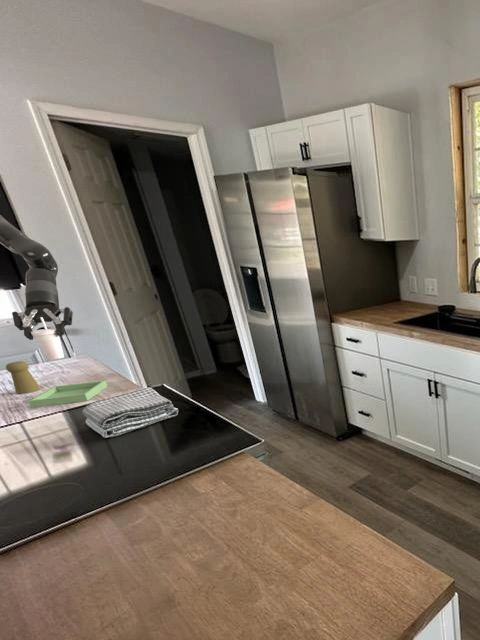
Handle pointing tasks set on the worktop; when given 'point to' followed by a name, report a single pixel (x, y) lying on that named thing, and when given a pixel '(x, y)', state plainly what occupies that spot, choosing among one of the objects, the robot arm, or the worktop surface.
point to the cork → (22, 378)
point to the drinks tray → (68, 394)
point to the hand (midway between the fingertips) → (44, 336)
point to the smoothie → (49, 342)
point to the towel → (128, 412)
